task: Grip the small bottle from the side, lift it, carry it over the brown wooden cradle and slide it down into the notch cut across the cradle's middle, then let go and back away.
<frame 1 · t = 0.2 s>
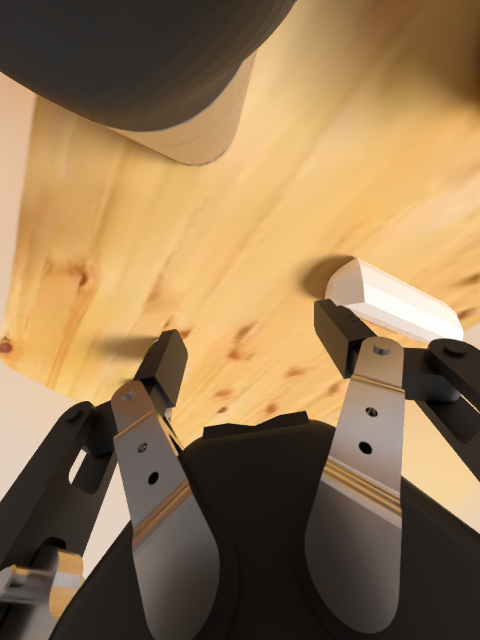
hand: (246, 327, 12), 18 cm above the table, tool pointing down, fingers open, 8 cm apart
crystal: (381, 299, 33), on the table
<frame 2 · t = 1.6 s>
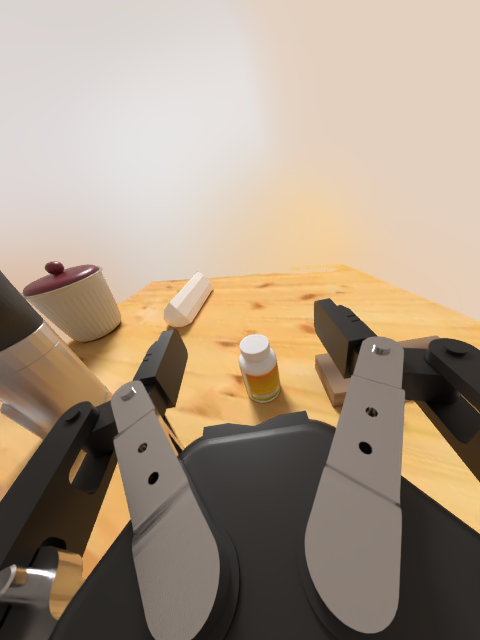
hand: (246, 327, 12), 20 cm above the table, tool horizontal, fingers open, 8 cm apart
canister: (101, 330, 60), on the table
crystal: (193, 306, 61), on the table
supplement bottle: (263, 389, 32), on the table
brown wooden cradle: (385, 376, 29), on the table
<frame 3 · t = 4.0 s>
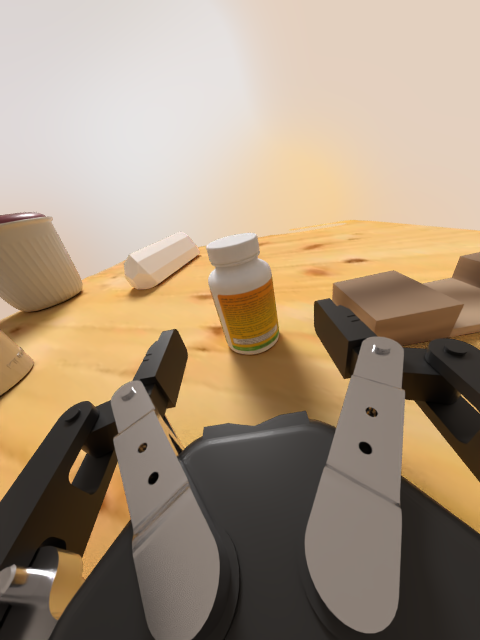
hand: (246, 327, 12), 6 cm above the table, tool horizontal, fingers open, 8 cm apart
canister: (57, 301, 48), on the table
crystal: (171, 271, 50), on the table
supplement bottle: (253, 339, 20), on the table
brown wooden cradle: (449, 307, 18), on the table
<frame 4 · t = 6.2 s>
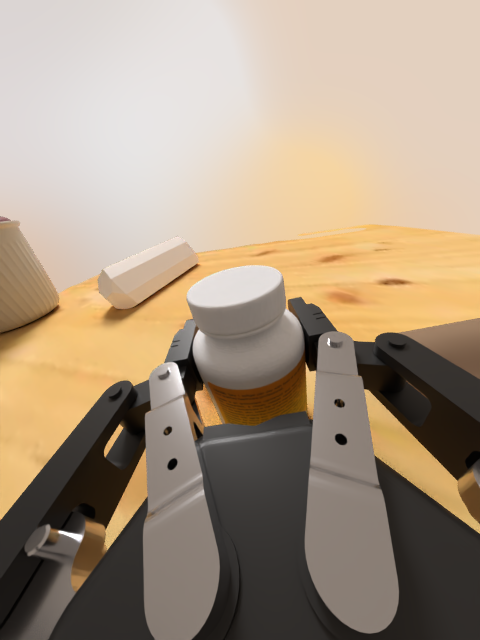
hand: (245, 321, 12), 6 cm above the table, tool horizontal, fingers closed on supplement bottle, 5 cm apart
canister: (28, 318, 41), on the table
crystal: (162, 283, 43), on the table
supplement bottle: (265, 417, 13), on the table, touching gripper
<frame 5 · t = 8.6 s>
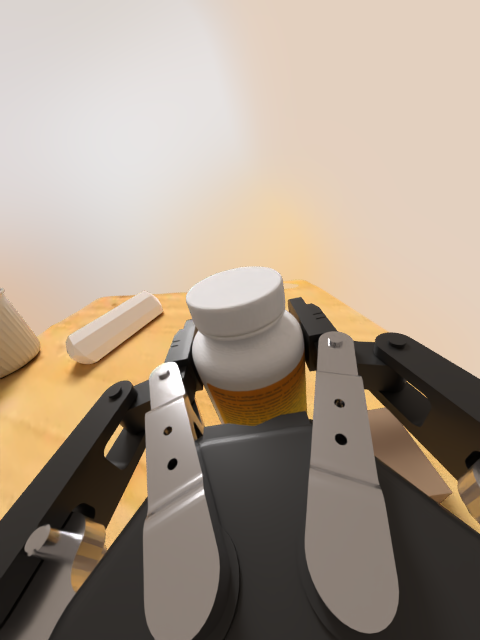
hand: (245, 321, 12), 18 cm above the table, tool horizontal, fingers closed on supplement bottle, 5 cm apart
canister: (13, 364, 49), on the table
crystal: (127, 333, 51), on the table
supplement bottle: (265, 418, 13), point 12 cm above the table, touching gripper
brown wooden cradle: (314, 470, 20), on the table
when the fingers open (8 cm above the table, at t = 11.3 s): supplement bottle stays where it is, resting on brown wooden cradle.
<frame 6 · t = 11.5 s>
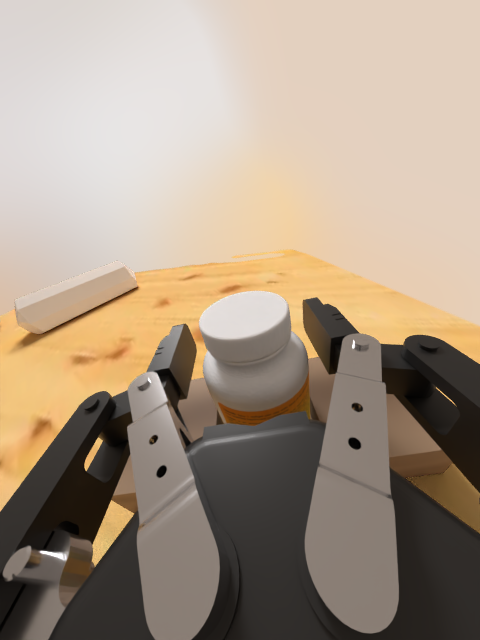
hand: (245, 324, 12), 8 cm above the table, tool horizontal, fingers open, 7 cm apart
crystal: (94, 306, 46), on the table
supplement bottle: (270, 429, 14), point 1 cm above the table, touching brown wooden cradle
brown wooden cradle: (269, 432, 14), on the table
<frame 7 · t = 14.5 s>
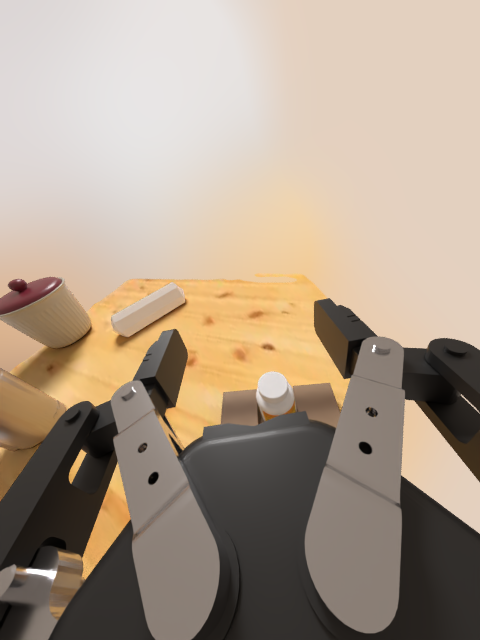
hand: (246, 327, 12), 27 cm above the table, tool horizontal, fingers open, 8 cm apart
canister: (74, 335, 66), on the table
crystal: (155, 316, 64), on the table
supplement bottle: (279, 415, 33), point 1 cm above the table, touching brown wooden cradle
brown wooden cradle: (278, 416, 33), on the table
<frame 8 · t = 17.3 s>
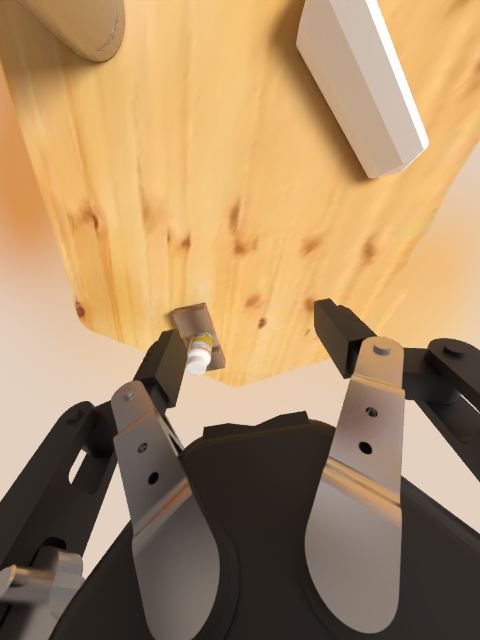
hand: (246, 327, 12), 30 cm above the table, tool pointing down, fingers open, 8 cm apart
crystal: (356, 96, 28), on the table
supplement bottle: (202, 338, 49), point 1 cm above the table, touching brown wooden cradle
brown wooden cradle: (202, 336, 49), on the table
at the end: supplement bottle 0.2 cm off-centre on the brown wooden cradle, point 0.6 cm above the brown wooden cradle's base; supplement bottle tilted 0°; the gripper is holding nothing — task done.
